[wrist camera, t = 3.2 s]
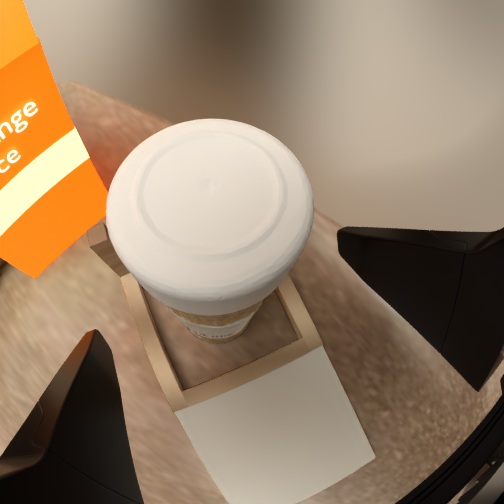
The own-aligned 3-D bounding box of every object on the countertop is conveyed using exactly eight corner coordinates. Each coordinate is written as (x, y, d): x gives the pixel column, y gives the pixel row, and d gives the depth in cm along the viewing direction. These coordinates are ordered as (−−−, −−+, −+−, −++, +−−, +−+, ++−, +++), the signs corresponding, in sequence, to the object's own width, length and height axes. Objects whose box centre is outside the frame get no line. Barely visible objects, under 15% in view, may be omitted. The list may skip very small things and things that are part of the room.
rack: (318, 345, 18) (359, 336, 12) (175, 409, 15) (155, 431, 10) (253, 216, 21) (265, 164, 15) (120, 268, 18) (86, 229, 13)
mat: (371, 455, 15) (375, 457, 14) (243, 520, 13) (244, 524, 12) (316, 339, 18) (319, 338, 17) (173, 403, 15) (171, 405, 15)
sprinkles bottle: (263, 294, 19) (344, 159, 6) (231, 357, 17) (262, 346, 5) (201, 262, 19) (179, 92, 7) (167, 322, 17) (60, 227, 5)
